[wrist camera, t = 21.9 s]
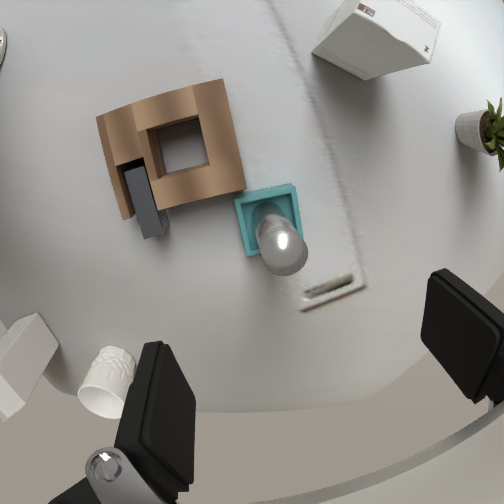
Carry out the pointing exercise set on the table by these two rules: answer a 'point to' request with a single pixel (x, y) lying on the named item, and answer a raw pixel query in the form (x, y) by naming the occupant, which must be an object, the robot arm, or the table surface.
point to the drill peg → (278, 240)
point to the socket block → (147, 145)
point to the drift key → (145, 203)
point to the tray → (278, 195)
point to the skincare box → (377, 37)
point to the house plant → (483, 131)
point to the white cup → (107, 382)
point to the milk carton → (23, 361)
